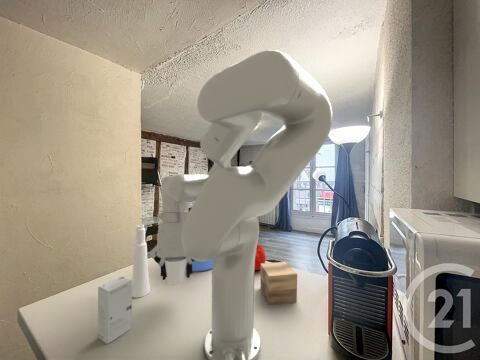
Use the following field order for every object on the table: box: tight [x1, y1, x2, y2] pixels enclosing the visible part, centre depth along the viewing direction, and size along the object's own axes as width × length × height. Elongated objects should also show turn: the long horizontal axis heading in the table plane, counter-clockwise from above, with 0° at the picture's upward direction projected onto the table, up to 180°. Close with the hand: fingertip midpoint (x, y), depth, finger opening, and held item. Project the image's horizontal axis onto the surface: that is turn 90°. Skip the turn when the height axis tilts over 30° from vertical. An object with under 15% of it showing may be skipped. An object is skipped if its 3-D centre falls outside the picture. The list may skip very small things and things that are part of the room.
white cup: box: [165, 257, 188, 286], centre depth 61 cm, size 7×7×7 cm
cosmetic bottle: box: [131, 224, 152, 299], centre depth 66 cm, size 6×6×22 cm
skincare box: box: [97, 276, 133, 345], centre depth 50 cm, size 6×4×12 cm
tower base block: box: [259, 277, 298, 306], centre depth 66 cm, size 9×9×4 cm
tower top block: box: [260, 261, 298, 291], centre depth 66 cm, size 9×9×4 cm
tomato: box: [254, 244, 266, 271], centre depth 85 cm, size 11×12×9 cm
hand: (177, 276), depth 61 cm, fingers closed on white cup, 6 cm apart
